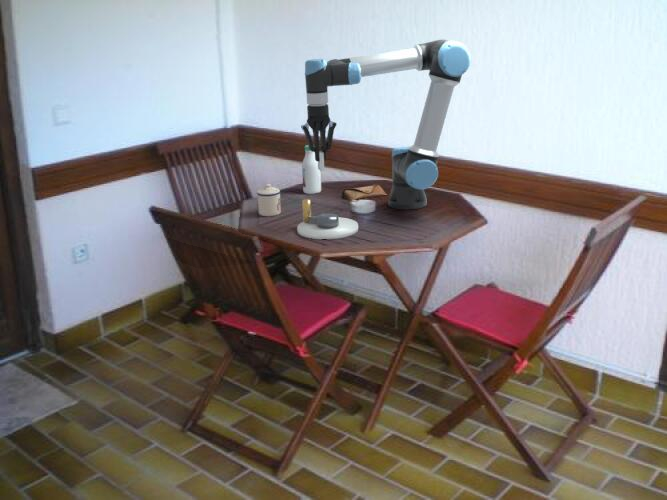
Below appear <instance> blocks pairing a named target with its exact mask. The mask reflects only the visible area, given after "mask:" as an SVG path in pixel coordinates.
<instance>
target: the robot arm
mask: <svg viewBox="0 0 667 500" xmlns="http://www.w3.org/2000/svg"><path fill="white" fill-rule="evenodd" d="M304 63H305V64H304V77H305V89H306V90H305V91H306V104H307V107H306V110H307V111H306V112H307V119H306V122H305V124H303V125H302V124H301V130H302V131H303V132H304V136H305V140H306V142H307V145H308V146H309V150H310V151H312V152H315V160H316V161H318V169H319V170H320V172H321V171H325V161H327V152H328V151H329V150H331V149H332V144H333V137H334V133H335V128H336V127H337V122H336V121H335V122H334V121H332V120H331V118H330V115H329V114H330V113H329V110H330V109H329V104H328V103H329V92H328V88H329V87H336V86H337V87H338V86H352V85H358V84H359V83H361V80H362V78H364V77H365V78H366V77H370V76H377V75H383V74H389V73H397V72H402V71H410V70H417V71H418V72H421V71H428V72H429V73H428V77H429V79H430V80H431V82H430V83H429V85H430V86H429V89H428V92H427V95H426V98H425V103H424V107H423V109H422V112H421V113H422V114H421V117H420V121H419V124H418V128H417V133H416V134H415V135H416V136H415V139H414V142H413V143H414V144H413V145H411V146H400V147H395V148H393V149H392V152H391V153H392V154H391V160H392V161H391V163H392V164H391V168H392V169H391V172H392V177H391V178H392V186H391V190H390V192H389V195H388V203H387V204H388V206H389V207H390V208H393V209H397V210H416V209H417V210H418V209H421V208H424V207H426V206H427V205H428V203H427V201H428V200H427V196H426V192H425V190H426V189H428V188H430V187H432V186H433V185H434V184H435V183H436V181H437V179H438V176H439V169H438V166H437V165H438V162H439V157H440V155H439V154H438V151H437V149H438V146H439V142H440V140H441V139H440V138H441V135H442V131H443V128H444V125H445V121H446V118H447V115H448V111H449V107H450V103H451V99H452V96H453V93H454V89H455V87H456V86H457V85H459V84H461V80H462V76H463V75H464V73H466V72H467V71H468V70H469V67H470V66H471V53H470V51H469V49H468V48H467V46H465V45H464V44H463V43H461V42H459V41H456V40H455V41H454V40H448V39H437V40H432V41H428V42H424V43H420V44H419V43H418V44H415V45H414V46H413V48H405V49H398V50H393V51H385V52H379V53H373V54H365V55H359V56H352V57H347V58H342V59H341V58H340V59H336V58H331V59H330V60H328V61H326V59H323V58H313V59H307V60H306V61H305V62H304ZM327 127H328V131H326V129H327ZM309 128H310V129H311V130H312V134H313V135H312V137H311V132H310V131H309ZM326 132H327V136H326ZM312 138H313V139H312ZM313 145H314V146H313Z"/></svg>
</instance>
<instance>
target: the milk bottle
mask: <svg viewBox="0 0 667 500" xmlns="http://www.w3.org/2000/svg"><path fill="white" fill-rule="evenodd" d="M313 146H314V144H313ZM304 152H305V155H304V157H303V160H302V164H301V165H302V166H301V169H302V170H301V171H302V174H301V175H302V190H303V193H304V194H309V195H313V194H319V193H321V192H322V178H321V177H322V176H321V175H322V173H321V171H320V170H319V169H318V161H316V160H315V152H312V151H310V150H309V146H308V144H306V145H305V146H304Z"/></svg>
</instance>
